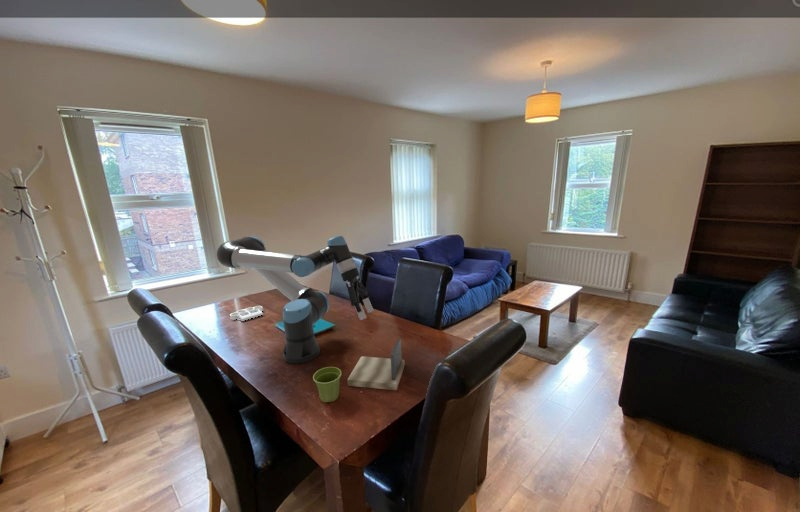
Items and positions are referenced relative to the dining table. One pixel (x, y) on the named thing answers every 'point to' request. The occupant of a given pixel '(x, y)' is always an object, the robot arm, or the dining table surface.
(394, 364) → the bookend
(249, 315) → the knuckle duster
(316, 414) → the dining table surface
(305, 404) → the dining table surface
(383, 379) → the shelf board
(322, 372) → the plant pot
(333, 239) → the robot arm
